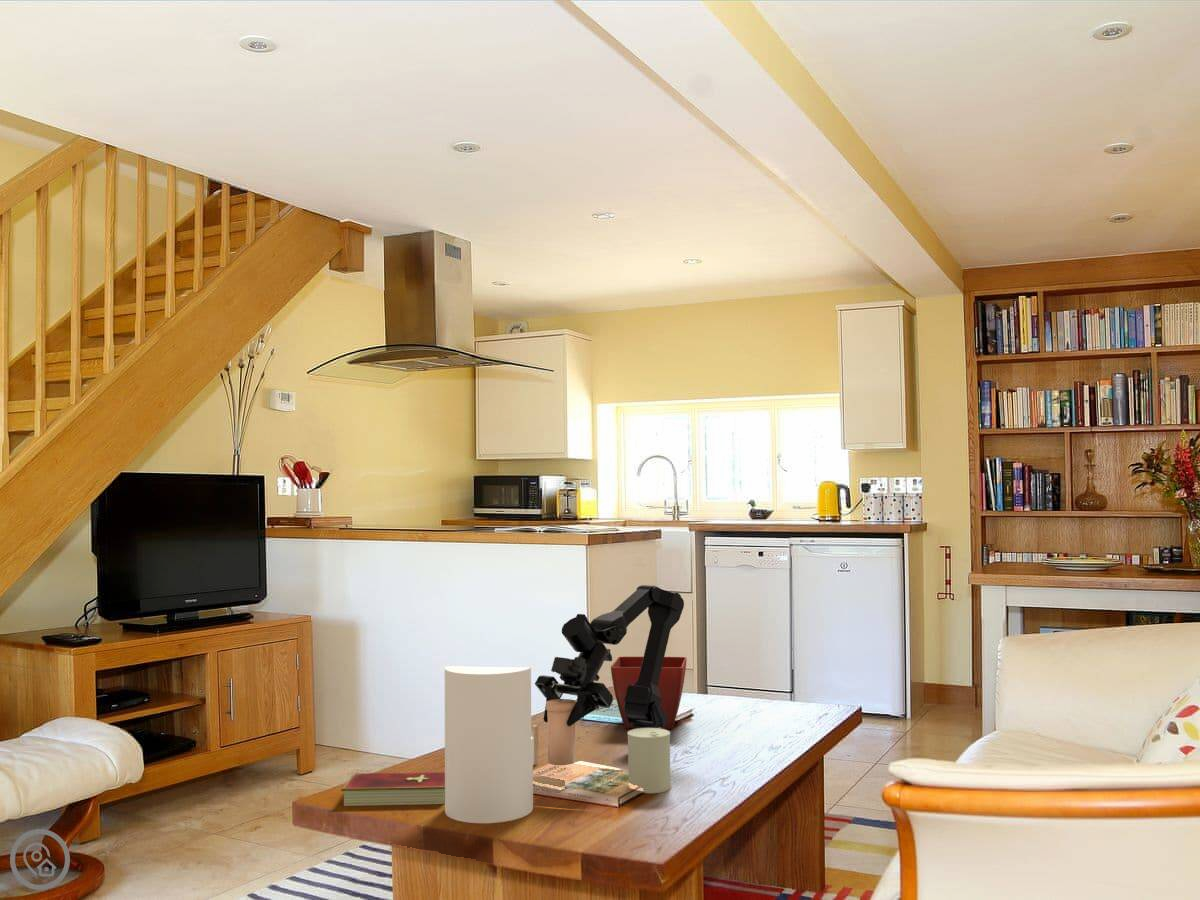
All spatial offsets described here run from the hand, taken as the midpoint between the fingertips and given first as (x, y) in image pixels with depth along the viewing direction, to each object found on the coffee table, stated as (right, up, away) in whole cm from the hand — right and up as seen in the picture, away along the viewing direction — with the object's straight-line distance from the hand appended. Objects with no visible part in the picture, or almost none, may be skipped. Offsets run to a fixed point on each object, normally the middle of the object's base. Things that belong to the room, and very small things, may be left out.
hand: (556, 723), depth 226 cm
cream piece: (0, -13, +5) cm, 14 cm away
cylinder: (-12, -12, -20) cm, 27 cm away
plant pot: (+23, -15, +55) cm, 61 cm away
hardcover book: (-32, -13, -11) cm, 36 cm away
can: (+20, -12, -6) cm, 24 cm away
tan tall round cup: (+1, -9, +1) cm, 9 cm away
